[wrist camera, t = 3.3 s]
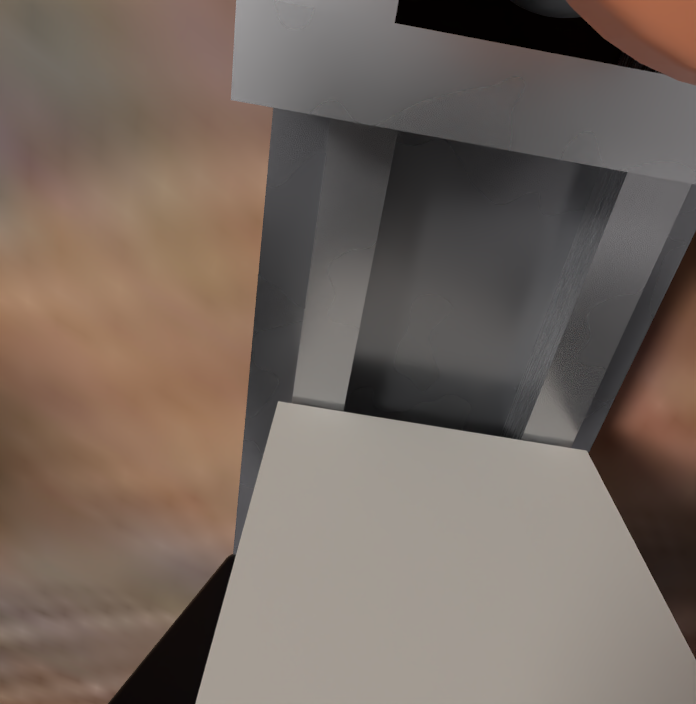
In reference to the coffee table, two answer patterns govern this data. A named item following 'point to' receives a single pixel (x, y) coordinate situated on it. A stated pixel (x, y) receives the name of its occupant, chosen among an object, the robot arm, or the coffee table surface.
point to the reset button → (637, 29)
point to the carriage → (436, 576)
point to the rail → (454, 224)
